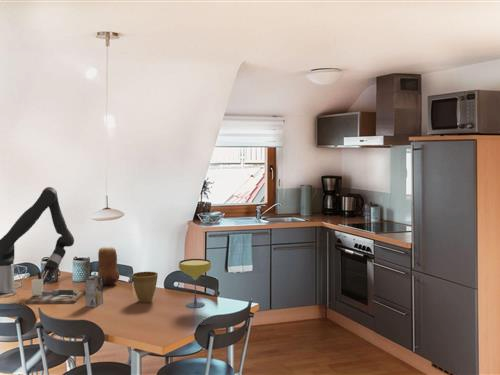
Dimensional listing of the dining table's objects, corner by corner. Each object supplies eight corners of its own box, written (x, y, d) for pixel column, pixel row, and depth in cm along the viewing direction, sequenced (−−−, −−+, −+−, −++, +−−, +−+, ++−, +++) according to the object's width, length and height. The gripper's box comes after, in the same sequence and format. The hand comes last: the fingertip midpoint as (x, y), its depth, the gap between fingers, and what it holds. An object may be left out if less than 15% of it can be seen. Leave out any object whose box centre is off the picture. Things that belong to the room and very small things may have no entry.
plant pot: (163, 299, 324) (162, 272, 322) (148, 305, 310) (147, 278, 309) (142, 296, 330) (142, 270, 329) (127, 302, 316) (126, 275, 315)
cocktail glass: (175, 302, 316) (175, 260, 314) (205, 299, 323) (205, 257, 321) (184, 311, 299) (184, 266, 297) (215, 307, 306) (215, 263, 304)
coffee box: (93, 301, 318) (92, 274, 317) (103, 302, 317) (102, 275, 316) (85, 306, 309) (84, 278, 308) (95, 307, 308) (95, 279, 307)
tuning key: (74, 294, 326) (74, 279, 326) (71, 295, 322) (71, 280, 322) (34, 293, 328) (33, 278, 327) (31, 295, 324) (30, 280, 323)
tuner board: (25, 303, 315) (25, 299, 314) (38, 294, 335) (38, 290, 334) (74, 303, 316) (74, 298, 315) (84, 293, 336) (84, 289, 335)
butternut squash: (110, 281, 367) (109, 244, 365) (123, 283, 360) (122, 246, 358) (93, 285, 356) (92, 247, 354) (106, 288, 348) (106, 249, 346)
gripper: (41, 258, 337) (27, 282, 327) (58, 260, 332) (44, 284, 322) (48, 265, 343) (34, 289, 332) (65, 267, 337) (51, 291, 327)
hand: (39, 287), depth 327 cm, fingers closed
